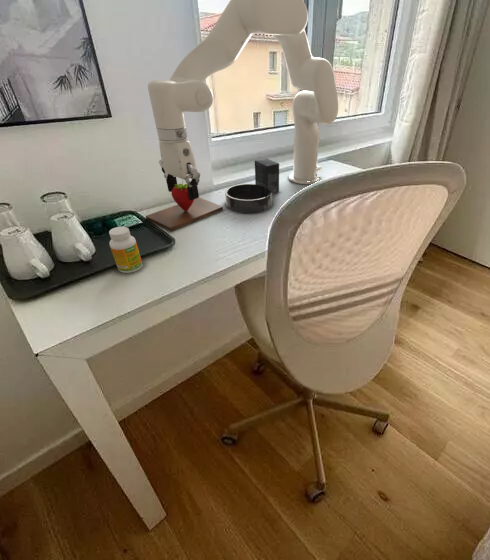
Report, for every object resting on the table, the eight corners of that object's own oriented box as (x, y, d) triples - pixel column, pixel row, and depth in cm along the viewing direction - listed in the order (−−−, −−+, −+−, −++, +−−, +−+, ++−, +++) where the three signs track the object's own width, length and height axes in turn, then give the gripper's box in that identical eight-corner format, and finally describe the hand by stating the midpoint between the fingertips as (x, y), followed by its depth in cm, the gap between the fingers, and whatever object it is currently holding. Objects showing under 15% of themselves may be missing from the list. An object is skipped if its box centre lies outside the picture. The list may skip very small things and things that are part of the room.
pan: (248, 192, 117) (247, 180, 115) (280, 203, 110) (280, 191, 108) (216, 205, 107) (215, 192, 105) (250, 218, 100) (249, 204, 98)
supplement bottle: (134, 275, 73) (122, 237, 68) (113, 271, 74) (99, 234, 68) (147, 262, 78) (137, 226, 72) (127, 259, 79) (115, 223, 73)
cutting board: (199, 200, 110) (198, 197, 109) (223, 210, 104) (223, 206, 104) (146, 219, 96) (145, 215, 96) (170, 231, 91) (170, 227, 90)
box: (279, 192, 119) (279, 163, 113) (266, 195, 116) (266, 165, 110) (267, 185, 124) (267, 157, 118) (255, 188, 121) (254, 160, 115)
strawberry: (183, 205, 103) (178, 174, 97) (201, 210, 101) (197, 178, 95) (170, 211, 99) (163, 179, 93) (188, 217, 96) (182, 184, 90)
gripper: (204, 137, 85) (212, 198, 95) (164, 127, 93) (176, 184, 103) (181, 142, 80) (192, 206, 90) (141, 131, 88) (155, 191, 98)
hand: (183, 194), depth 97 cm, fingers open, 9 cm apart
